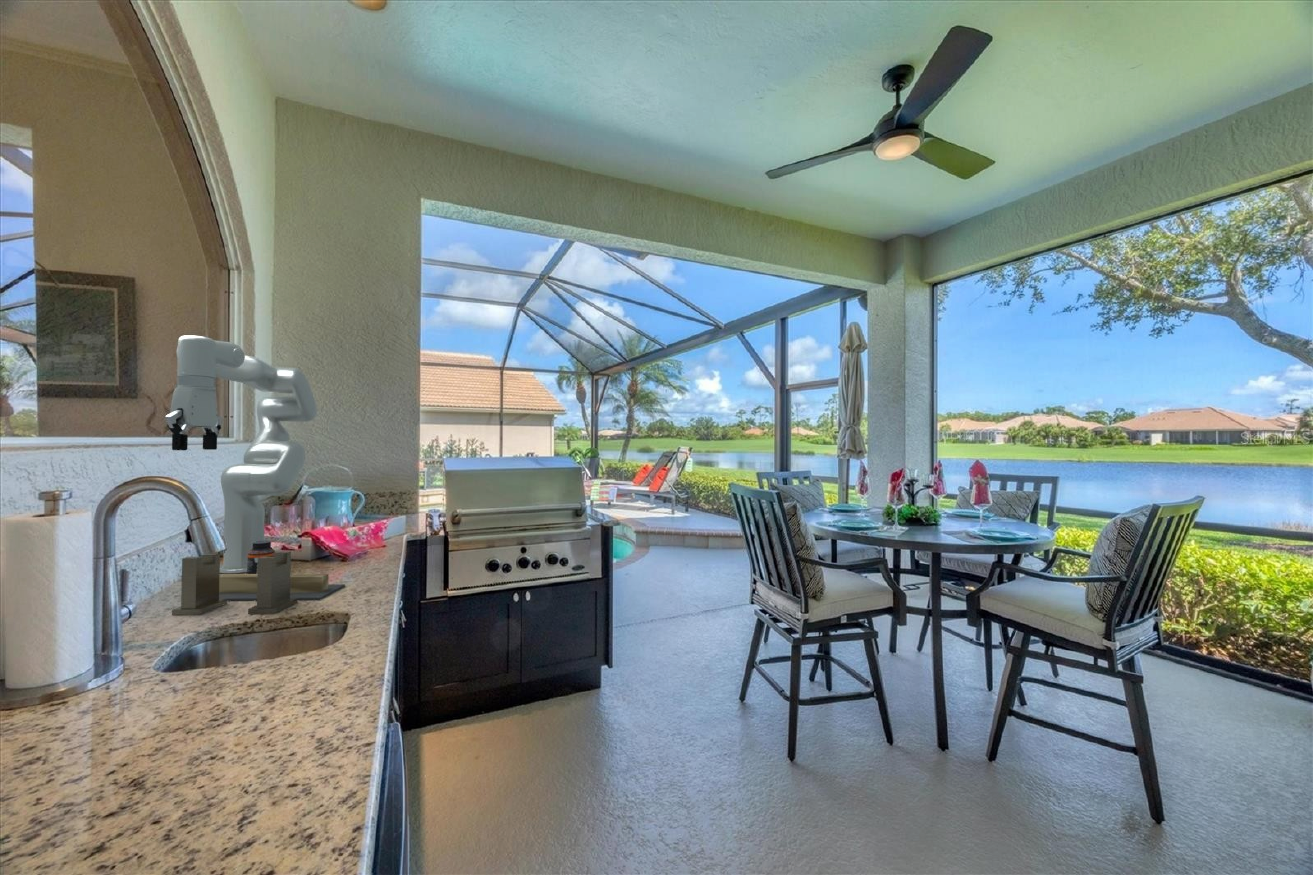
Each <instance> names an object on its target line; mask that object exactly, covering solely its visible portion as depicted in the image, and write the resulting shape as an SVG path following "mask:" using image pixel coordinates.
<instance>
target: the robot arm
mask: <svg viewBox="0 0 1313 875" xmlns="http://www.w3.org/2000/svg"><path fill="white" fill-rule="evenodd" d="M176 357H177V368H176V369H177V372H176V375H177V376H176V377H177V378H176V387H175V388H174V390H173V393H172V396H171V403H170V404H171V405H170V411H169V412H170V413H168V414H167V415H165V416H164V419H165V421H166V422H165V423H166V425H167V426H166V427H167V428H168V429H169V433H170V434H171V435H172V436H171V450H172V451H187V450H188V437H189V435H188V434H186V433H187V432H188V430H189V429H190V428H201V429H202V431H203V433H204V434H202V450H207V451H208V450H210V451H211V450H212V451H213V450H215V451H216V450H217V449H218V436H219V435H220V434H219V433H220V430H221V429H222V425H223V422H224V419H223V418H222V417H221V416H220V415H219V412H218V411H219V410H218V407H219V406H218V399H217V398H218V397H217V392H216V388H217V387H216V385H217V384H216V383H217V382H216V380H217V378H218V379H222V380H227V381H231V382H236V383H240V384H241V383H242V384H243V385H246V386H248V387H251V388H253V389H256V390H258V391H260V392H263V393H268V394H269V393H270V394H293V395H294V396H290V395H289V396H288V395H285V396H284V395H281V396H280V395H269V396H265V397H262V398H261V399H259V401H258V402H257V405H256V415H257V420H258V426H259V432H258V433H257V435H256V437H255V438H254V439H253V440H252V442H251V443H250V445H249V446H248V447H247V449H246V450H245V452H244V454H243V463H237V464H232V465H229V466H228V467H226V468H225V469H224V470H223V471H222V473H221V476H220V484H221V489H222V494H223V503H224V519H223V520H224V521H223V522H224V523H223V524H224V525H223V527H224V529H223V539H224V538H225V541H226V543H227V550H226V551H225V553H224V552H223V563H222V564H220V574H245V573H247V560H248V552H249V551H250V550H251V549H252V548H253V547H252V546H253V542H256V541H265V515H266V510H265V506H264V504H263V502H262V501H261V500H260V498H259V497H258V496H282V495H284V494H287V492H288V491H290V489H291V488H292V486H293V484H294V482H295V481H296V479H297V477H298V476H299V474H300V472H301V470H302V469H303V467H304V464H305V462H306V450H305V448H304V446H303V445H302V444H301V443H300V442H297V441H293V440H290V435H289V432H288V430H287V429H286V427H284V425H282V424H281V422H296V423H297V422H300V423H301V422H302V423H303V422H311V421H313V420H314V419H315V418H316V416H317V413H318V406H317V402H316V400H315V397H314V394H313V391H312V389H311V386H310V383H309V381H308V379H307V377H306V375H305V374H304V372H303V371H302V370H301V369H299V368H298V367H289V366H288V367H285V366H284V367H283V366H272V365H270V364H269V363H267V362H265V361H263V360H261V359H259V358H258V357H255V356H252V355H246V354H245V352H244V350H243V349H242V347H240V346H239V345H238V344H236V343H234V342H230V341H221V340H214V339H213V338H211V337H207V336H201V335H189V334H188V335H186V334H185V335H181V336H180V337H179V338H178V341H177V348H176Z"/></svg>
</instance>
